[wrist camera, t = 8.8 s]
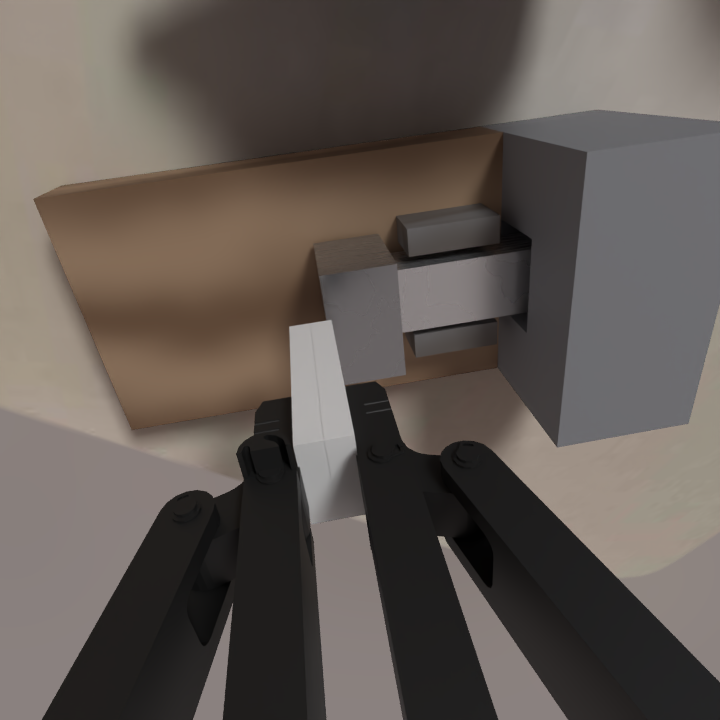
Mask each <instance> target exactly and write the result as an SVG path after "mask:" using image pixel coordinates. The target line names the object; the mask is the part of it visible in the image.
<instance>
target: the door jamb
mask: <svg viewBox="0 0 720 720" xmlns="http://www.w3.org/2000/svg"><path fill="white" fill-rule="evenodd" d="M480 127H484V128H488V129H492V130H497V131H501V132H503V166H502V207H501V236H504V235H510V234H517V233H523V234H525V235H527V236H528V237H530V238H531V239H532V247H531V265H530V283H529V301H528V312H526V313H520V314H514V315H507V316H501V317H499V331H498V369H499V370H500V371H501V373H502V374H503V375H504V377H505V378H506V379H507V381H508V382H509V383H510V385H511V386H512V387H513V389H514V390H515V391H516V393H517V394H518V395H519V397H520V398H521V400H522V401H523V402H524V404H525V405H526V406H527V408H528V409H529V410H530V412H531V413H532V414H533V416H534V417H535V418H536V420H537V421H538V422H539V424H540V425H541V426H542V428H543V429H544V430H545V432H546V433H547V434H548V436H549V437H550V438H551V440H552V441H553V442H554V444H555V445H556V446H557V447H562V446H567V445H573V444H578V443H584V442H589V441H595V440H600V439H606V438H611V437H617V436H623V435H628V434H634V433H639V432H645V431H650V430H656V429H661V428H667V427H672V426H678V425H683V424H688V423H689V419H690V415H691V412H692V408H693V404H694V400H695V396H696V392H697V389H698V385H699V381H700V377H701V373H702V369H703V366H704V362H705V358H706V354H707V350H708V346H709V343H710V339H711V335H712V331H713V327H714V323H715V319H716V316H717V312H718V308H719V304H720V121H710V120H699V119H689V118H678V117H668V116H657V115H647V114H636V113H626V112H615V111H605V110H593V111H586V112H579V113H572V114H565V115H558V116H551V117H544V118H537V119H530V120H523V121H516V122H509V123H502V124H495V125H487V126H480Z"/></svg>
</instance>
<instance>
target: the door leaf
mask: <svg viewBox="0 0 720 720" xmlns="http://www.w3.org/2000/svg"><path fill="white" fill-rule="evenodd" d="M502 166H503V132H501V131H497V130H492V129H488V128H484V127H473V128H466V129H459V130H452V131H445V132H438V133H431V134H424V135H417V136H410V137H403V138H396V139H389V140H382V141H374V142H367V143H360V144H353V145H346V146H339V147H332V148H325V149H318V150H311V151H304V152H297V153H290V154H283V155H276V156H269V157H261V158H254V159H247V160H240V161H233V162H226V163H219V164H212V165H205V166H198V167H191V168H184V169H177V170H170V171H163V172H156V173H148V174H141V175H134V176H127V177H120V178H113V179H106V180H99V181H92V182H85V183H78V184H71V185H64V186H60V187H58V188H56V189H54V190H51V191H49V192H47V193H45V194H43V195H41V196H39V197H37V198H35V199H34V202H35V204H36V206H37V209H38V211H39V213H40V216H41V218H42V220H43V223H44V225H45V227H46V230H47V232H48V234H49V237H50V239H51V242H52V244H53V246H54V249H55V251H56V253H57V256H58V258H59V260H60V263H61V265H62V267H63V270H64V272H65V274H66V277H67V279H68V281H69V284H70V286H71V288H72V291H73V293H74V295H75V298H76V300H77V302H78V305H79V307H80V309H81V312H82V314H83V316H84V319H85V321H86V323H87V326H88V328H89V331H90V333H91V335H92V338H93V340H94V342H95V345H96V347H97V349H98V352H99V354H100V356H101V359H102V361H103V363H104V366H105V368H106V370H107V373H108V375H109V377H110V380H111V382H112V384H113V387H114V389H115V391H116V394H117V396H118V398H119V401H120V403H121V405H122V408H123V410H124V412H125V415H126V417H127V419H128V422H129V424H130V427H131V429H132V430H134V429H140V428H146V427H152V426H158V425H164V424H170V423H175V422H181V421H187V420H193V419H199V418H205V417H211V416H216V415H222V414H228V413H234V412H240V411H246V410H252V409H257V408H259V406H260V405H261V404H262V402H263V401H269V400H275V399H280V398H286V397H291V366H290V334H289V327H290V326H296V325H302V324H309V323H315V322H321V321H326V318H325V312H324V306H323V300H322V294H321V288H320V282H319V276H318V269H317V263H316V257H315V251H314V245H313V243H320V242H326V241H333V240H339V239H346V238H352V237H359V236H366V235H372V234H379V236H380V237H381V239H382V241H383V242H384V244H385V245H386V247H387V249H388V250H389V252H390V253H394V252H401V251H405V252H406V253H407V255H408V256H409V257H412V256H419V255H425V254H432V253H438V252H445V251H451V250H457V249H464V248H470V247H477V246H483V245H489V244H496V243H499V240H500V236H501V207H502ZM498 331H499V317H495V318H489V319H483V320H477V321H471V322H465V323H459V324H453V325H447V326H441V327H435V328H429V329H422V330H416V331H410V332H404V333H403V344H404V356H405V368H406V375H402V376H396V377H390V378H384V379H378V380H372V381H367V382H361V383H355V384H349V385H345V386H350V385H356V384H362V383H368V382H374V381H376V382H377V383H378V384H379V385H381V386H382V387H386V386H392V385H398V384H404V383H410V382H415V381H421V380H427V379H433V378H439V377H445V376H451V375H456V374H462V373H468V372H474V371H480V370H486V369H492V368H497V367H498Z"/></svg>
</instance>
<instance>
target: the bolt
mask: <svg viewBox="0 0 720 720" xmlns="http://www.w3.org/2000/svg"><path fill="white" fill-rule="evenodd" d="M313 245H314V251H315V257H316V263H317V269H318V276H319V282H320V288H321V294H322V300H323V306H324V312H325V318H326V321H327V320H331V321H332V325H333V330H334V335H335V340H336V345H337V350H338V355H339V360H340V365H341V370H342V375H343V380H344V385H349V384H355V383H361V382H367V381H372V380H378V379H384V378H390V377H396V376H402V375H406V368H405V356H404V344H403V333H404V332H410V331H416V330H422V329H429V328H435V327H441V326H447V325H453V324H459V323H465V322H471V321H477V320H483V319H489V318H495V317H501V316H507V315H514V314H520V313H526V312H528V301H529V283H530V265H531V247H532V239H531V238H530V237H528V236H527V235H525V234H523V233H517V234H510V235H504V236H500V240H499V243H496V244H489V245H483V246H477V247H470V248H464V249H457V250H451V251H445V252H438V253H432V254H425V255H419V256H412V257H409V256H408V255H407V253H406V252H405V251H401V252H394V253H390V252H389V250H388V249H387V247H386V245H385V244H384V242H383V241H382V239H381V237H380V236H379V234H372V235H366V236H359V237H352V238H346V239H339V240H333V241H326V242H320V243H313Z"/></svg>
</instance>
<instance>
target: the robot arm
mask: <svg viewBox="0 0 720 720" xmlns="http://www.w3.org/2000/svg"><path fill="white" fill-rule="evenodd" d="M289 334H290V366H291V397H286V398H280V399H275V400H269V401H263V402H262V404H261V405H260V406H259V408H258V409H257V411H256V412H255V426H254V436H252V437H250V438H248V439H247V440H245V441H244V442H243V443H242V444H241V445H240V446H239V448H238V450H237V453H236V455H237V458H238V462H239V465H240V468H241V471H242V474H243V478H244V481H243V482H242V484H240V485H239V486H238V487H236V488H235V489H233V490H231V491H229V492H227V493H225V494H222V495H220V496H218V497H215V498H213V496H212V495H210V494H209V493H207V492H205V491H199V490H194V491H188V492H185V493H182V494H180V495H177V496H176V497H174V498H173V499H172V500H170V501H169V502H167V503H166V505H165V506H164V507H163V508H162V509H161V511H160V512H159V514H158V516H157V518H156V519H155V521H154V523H153V525H152V526H151V528H150V530H149V532H148V534H147V535H146V537H145V539H144V541H143V542H142V544H141V546H140V548H139V549H138V551H137V553H136V555H135V556H134V559H133V560H132V562H131V563H130V565H129V567H128V569H127V571H126V572H125V574H124V576H123V578H122V579H121V581H120V583H119V585H118V587H117V588H116V590H115V592H114V594H113V595H112V597H111V599H110V601H109V602H108V604H107V606H106V608H105V610H104V611H103V613H102V615H101V616H100V618H99V620H98V622H97V623H96V625H95V627H94V629H93V630H92V632H91V634H90V636H89V638H88V640H87V641H86V643H85V645H84V646H83V648H82V650H81V652H80V653H79V655H78V657H77V659H76V660H75V662H74V664H73V666H72V667H71V669H70V671H69V673H68V675H67V676H66V678H65V680H64V682H63V683H62V685H61V687H60V689H59V690H58V692H57V694H56V696H55V697H54V699H53V701H52V703H51V704H50V706H49V708H48V710H47V712H46V714H45V715H44V717H43V719H42V720H193V717H194V715H195V712H196V708H197V706H198V703H199V700H200V697H201V694H202V691H203V688H204V685H205V682H206V679H207V676H208V674H209V671H210V668H211V665H212V662H213V659H214V656H215V653H216V650H217V647H218V644H219V641H220V638H221V635H222V632H223V629H224V626H225V624H226V621H227V618H228V615H229V612H230V609H231V606H232V603H233V610H232V622H231V633H230V644H229V656H228V667H227V679H226V690H225V701H224V712H223V720H326V708H325V694H324V681H323V666H322V652H321V639H320V625H319V612H318V597H317V583H316V570H315V555H314V541H313V537H312V532H311V528H310V521H311V524H316V523H321V522H327V521H332V520H337V519H343V518H348V517H354V516H359V515H364V514H366V520H367V527H368V533H369V540H370V546H371V550H372V554H373V560H374V565H375V570H376V576H377V581H378V587H379V592H380V597H381V603H382V608H383V613H384V618H385V624H386V630H387V635H388V640H389V646H390V651H391V657H392V662H393V667H394V673H395V678H396V684H397V689H398V694H399V699H400V705H401V711H402V716H403V720H498V718H497V715H496V712H495V709H494V706H493V703H492V700H491V697H490V694H489V691H488V687H487V684H486V682H485V678H484V675H483V672H482V669H481V667H480V663H479V661H478V658H477V654H476V651H475V648H474V645H473V642H472V639H471V636H470V633H469V630H468V627H467V624H466V621H465V618H464V615H463V612H462V609H461V606H460V603H459V600H458V597H457V594H456V591H455V588H454V585H453V582H452V579H451V576H450V573H449V570H448V567H447V564H446V561H445V558H444V555H443V552H442V549H441V546H440V543H439V540H438V537H437V536H444V537H445V539H446V542H447V543H448V545H449V546H450V548H451V549H452V550H453V552H454V553H455V555H456V556H457V558H458V559H459V561H460V562H461V564H462V565H463V567H464V568H465V569H466V571H467V572H468V574H469V575H470V577H471V578H472V580H473V581H474V583H475V584H476V585H477V587H478V588H479V590H480V591H481V593H482V594H483V596H484V597H485V599H486V600H487V602H488V603H489V605H490V606H491V608H492V609H493V610H494V612H495V613H496V615H497V616H498V618H499V619H500V620H501V622H502V624H503V625H504V626H505V628H506V629H507V631H508V632H509V634H510V635H511V637H512V638H513V640H514V641H515V643H516V644H517V646H518V647H519V649H520V650H521V651H522V653H523V654H524V656H525V657H526V658H527V660H528V662H529V663H530V665H531V666H532V668H533V669H534V670H535V672H536V673H537V675H538V676H539V678H540V679H541V681H542V682H543V684H544V685H545V686H546V688H547V689H548V691H549V692H550V694H551V695H552V697H553V698H554V700H555V701H556V703H557V704H558V705H559V707H560V708H561V710H562V711H563V712H564V714H565V716H566V717H567V719H568V720H720V682H719V681H718V680H717V679H716V678H715V677H714V676H713V675H712V674H711V673H710V672H709V671H708V670H707V669H706V668H705V667H704V666H703V665H702V664H701V663H700V662H699V661H698V660H697V659H696V658H695V657H694V656H693V655H692V654H691V653H690V652H689V651H688V650H687V649H686V648H685V647H684V645H682V643H681V642H679V641H678V639H677V638H676V637H675V636H673V634H672V633H671V632H670V631H669V630H668V629H667V628H666V627H665V626H664V625H663V624H662V623H661V622H660V621H659V620H658V619H657V618H656V617H655V616H654V615H653V614H652V613H651V612H650V611H649V610H648V609H647V608H646V607H645V606H644V605H643V604H642V603H641V602H640V601H639V600H638V599H637V598H636V597H635V596H634V595H633V594H632V593H631V592H630V591H629V590H628V588H627V587H625V586H624V584H623V583H622V582H621V581H620V580H619V579H618V578H617V577H616V576H615V575H614V574H613V573H612V572H611V571H610V570H609V569H608V568H607V567H606V566H605V565H604V564H603V563H602V562H601V561H600V560H599V559H598V558H597V557H596V556H595V555H594V554H593V553H592V552H591V551H590V550H589V549H588V548H587V547H586V546H585V545H584V544H583V543H582V542H581V541H580V540H579V539H578V538H577V537H576V536H575V535H574V534H573V533H572V531H571V530H570V529H569V528H568V527H567V526H566V525H565V524H564V523H563V522H562V521H561V520H560V519H559V518H558V517H557V516H556V515H555V514H554V513H553V512H552V511H551V510H550V509H549V508H548V507H547V506H546V505H545V504H544V503H543V502H542V501H541V500H540V499H539V498H538V497H537V496H536V495H535V494H534V493H533V492H532V491H531V490H530V489H529V488H528V487H527V486H526V485H525V484H524V483H523V482H522V481H521V480H520V479H519V478H518V477H517V476H516V475H515V473H514V472H513V471H512V470H511V469H510V468H509V467H508V466H507V465H506V464H505V463H504V462H503V461H502V460H501V459H500V458H499V457H498V456H497V455H496V454H495V453H494V452H493V451H492V450H491V449H489V448H488V447H487V446H485V445H484V444H481V443H478V442H475V441H460V442H455V443H452V444H450V445H449V446H447V447H446V448H445V449H444V450H443V451H442V453H441V455H427V454H421V453H418V452H415V451H413V450H411V449H409V448H408V447H407V446H406V445H405V443H403V441H402V439H401V437H400V434H399V431H398V427H397V424H396V421H395V418H394V415H393V412H392V410H391V406H390V403H389V401H388V397H387V394H386V391H385V389H384V388H383V387H382V386H381V385H379V384H378V383H377V382H376V381H374V382H368V383H362V384H356V385H350V386H345V385H344V380H343V375H342V370H341V365H340V360H339V355H338V350H337V345H336V340H335V335H334V330H333V325H332V321H331V320H327V321H321V322H315V323H309V324H302V325H296V326H290V327H289Z"/></svg>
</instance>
